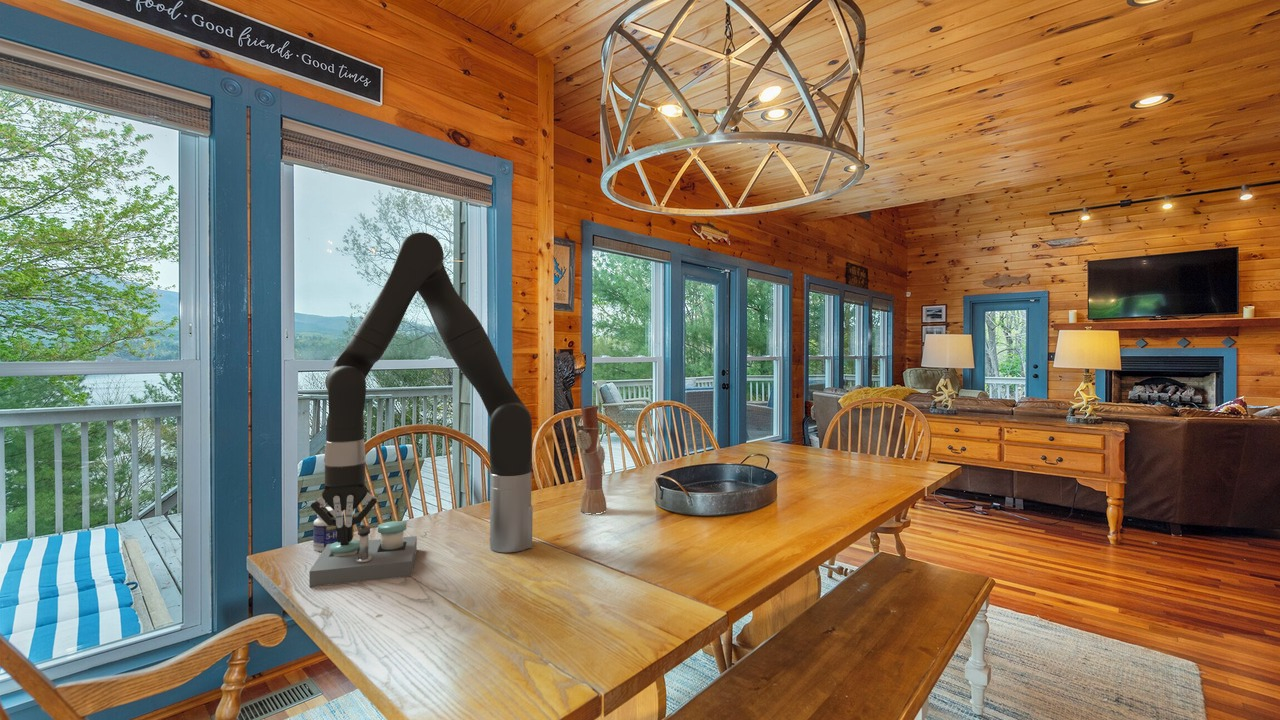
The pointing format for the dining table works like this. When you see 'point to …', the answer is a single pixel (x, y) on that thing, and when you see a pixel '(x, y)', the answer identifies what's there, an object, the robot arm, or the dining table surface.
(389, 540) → the knob
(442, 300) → the robot arm
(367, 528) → the post
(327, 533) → the pill bottle
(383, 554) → the mount board
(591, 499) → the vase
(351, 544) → the knob
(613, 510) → the dining table surface
